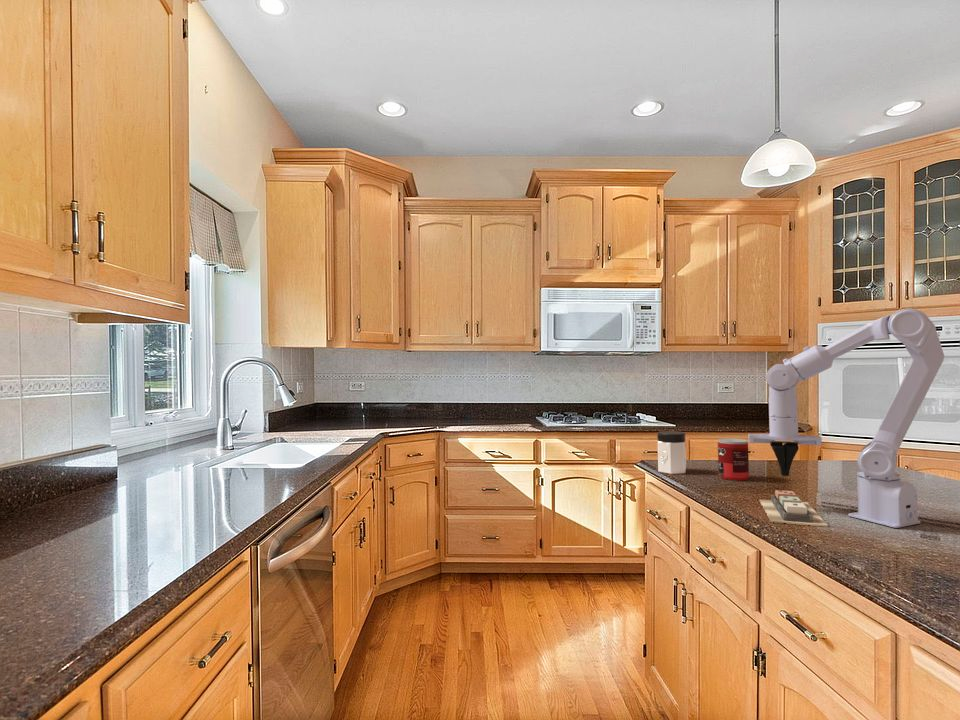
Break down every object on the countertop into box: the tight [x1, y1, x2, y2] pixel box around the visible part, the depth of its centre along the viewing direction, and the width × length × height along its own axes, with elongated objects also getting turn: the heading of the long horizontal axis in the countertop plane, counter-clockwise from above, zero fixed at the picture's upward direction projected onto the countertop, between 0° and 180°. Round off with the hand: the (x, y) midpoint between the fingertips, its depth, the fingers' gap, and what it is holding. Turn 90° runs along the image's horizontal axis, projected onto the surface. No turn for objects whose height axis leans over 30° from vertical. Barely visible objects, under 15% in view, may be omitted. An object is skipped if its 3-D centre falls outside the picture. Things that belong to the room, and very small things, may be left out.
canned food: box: [717, 437, 750, 482], centre depth 150 cm, size 8×8×11 cm
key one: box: [784, 502, 807, 514], centre depth 110 cm, size 4×4×2 cm
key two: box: [779, 496, 802, 506], centre depth 115 cm, size 4×4×2 cm
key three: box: [774, 489, 797, 500], centre depth 120 cm, size 4×4×2 cm
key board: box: [758, 494, 829, 528], centre depth 115 cm, size 18×10×2 cm, turn 159°
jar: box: [656, 430, 687, 475], centre depth 161 cm, size 9×8×12 cm
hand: (784, 475), depth 120 cm, fingers closed
